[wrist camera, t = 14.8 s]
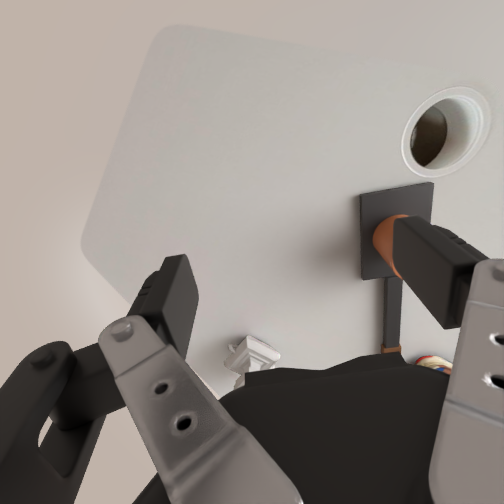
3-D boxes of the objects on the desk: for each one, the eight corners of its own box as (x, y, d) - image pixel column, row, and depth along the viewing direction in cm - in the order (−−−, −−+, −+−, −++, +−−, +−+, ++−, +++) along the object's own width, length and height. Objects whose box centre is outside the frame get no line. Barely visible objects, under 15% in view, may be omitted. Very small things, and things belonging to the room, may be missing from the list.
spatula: (359, 194, 40) (362, 197, 39) (430, 181, 39) (436, 184, 38) (362, 358, 54) (365, 364, 53) (415, 351, 53) (419, 357, 52)
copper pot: (372, 218, 41) (393, 240, 35) (420, 210, 40) (449, 231, 35) (372, 259, 44) (391, 285, 38) (417, 251, 43) (443, 277, 37)
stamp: (218, 348, 52) (213, 391, 45) (240, 322, 50) (238, 364, 42) (262, 368, 55) (264, 413, 47) (284, 345, 52) (291, 388, 45)
